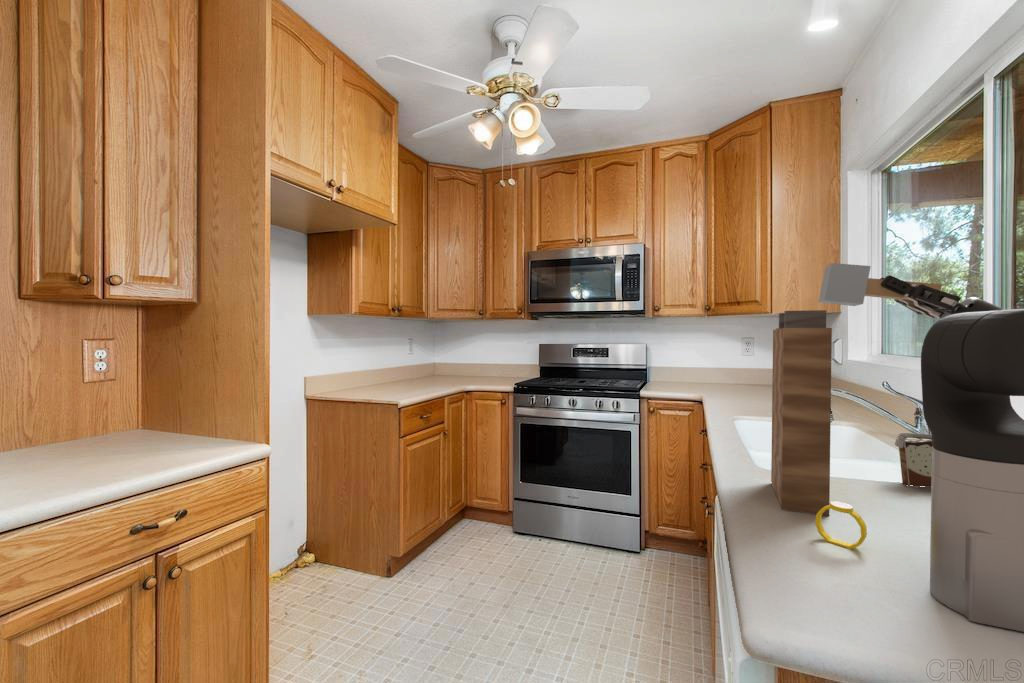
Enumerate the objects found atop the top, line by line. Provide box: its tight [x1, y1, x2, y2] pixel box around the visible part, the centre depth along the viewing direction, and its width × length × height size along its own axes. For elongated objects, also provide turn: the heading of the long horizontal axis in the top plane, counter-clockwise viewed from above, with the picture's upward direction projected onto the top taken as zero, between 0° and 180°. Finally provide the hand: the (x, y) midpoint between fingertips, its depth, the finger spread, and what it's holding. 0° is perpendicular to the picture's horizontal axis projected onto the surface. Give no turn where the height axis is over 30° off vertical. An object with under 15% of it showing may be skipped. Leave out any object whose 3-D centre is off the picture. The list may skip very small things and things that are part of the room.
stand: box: [770, 309, 833, 517], centre depth 85 cm, size 16×7×35 cm, turn 156°
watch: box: [815, 500, 868, 550], centre depth 66 cm, size 6×3×6 cm, turn 38°
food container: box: [894, 432, 932, 488], centre depth 95 cm, size 12×6×10 cm, turn 84°
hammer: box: [817, 262, 943, 307], centre depth 85 cm, size 6×17×7 cm, turn 66°
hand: (881, 281), depth 85 cm, fingers closed on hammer, 3 cm apart
